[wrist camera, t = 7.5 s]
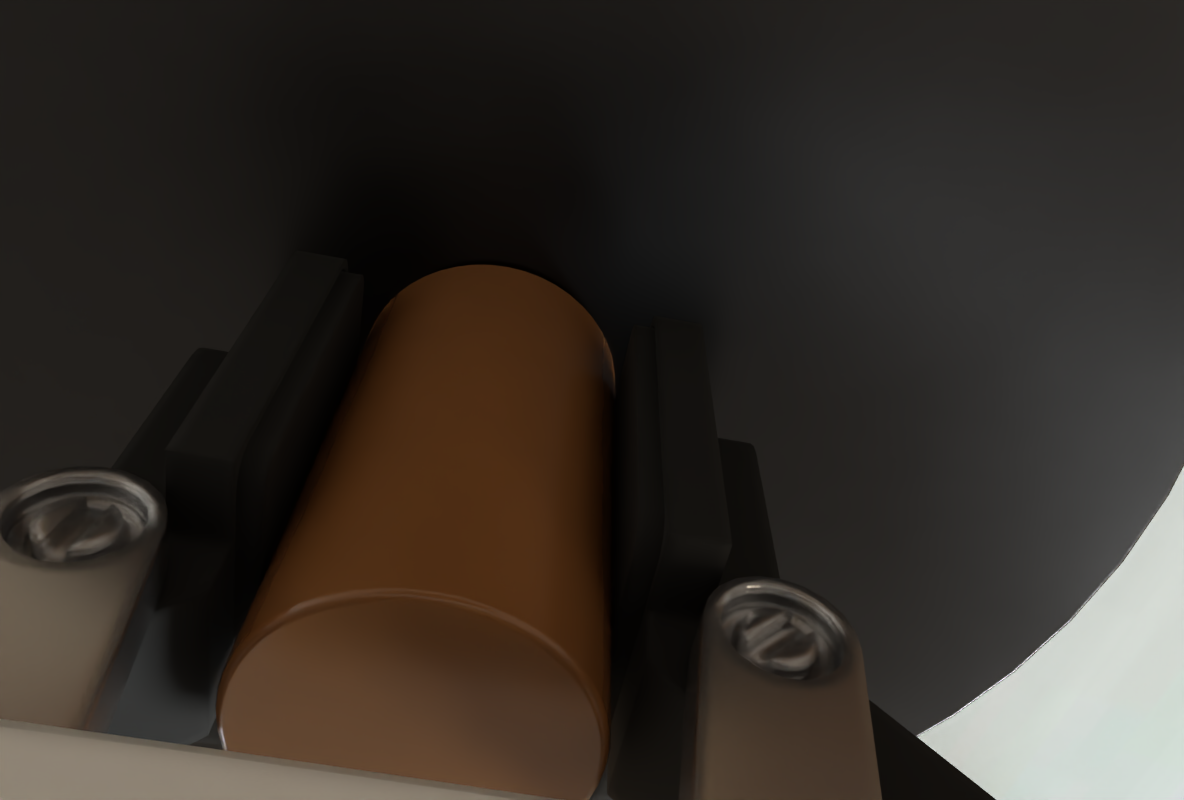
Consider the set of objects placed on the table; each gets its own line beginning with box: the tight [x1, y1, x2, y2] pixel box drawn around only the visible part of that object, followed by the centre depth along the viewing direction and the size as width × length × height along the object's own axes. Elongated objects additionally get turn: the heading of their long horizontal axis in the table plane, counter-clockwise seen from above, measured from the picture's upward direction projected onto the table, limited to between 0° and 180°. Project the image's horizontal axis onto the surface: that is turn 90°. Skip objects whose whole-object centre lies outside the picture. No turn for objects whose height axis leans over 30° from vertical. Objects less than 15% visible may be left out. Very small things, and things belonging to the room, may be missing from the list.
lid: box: [0, 0, 1184, 800], centre depth 11 cm, size 17×17×7 cm
